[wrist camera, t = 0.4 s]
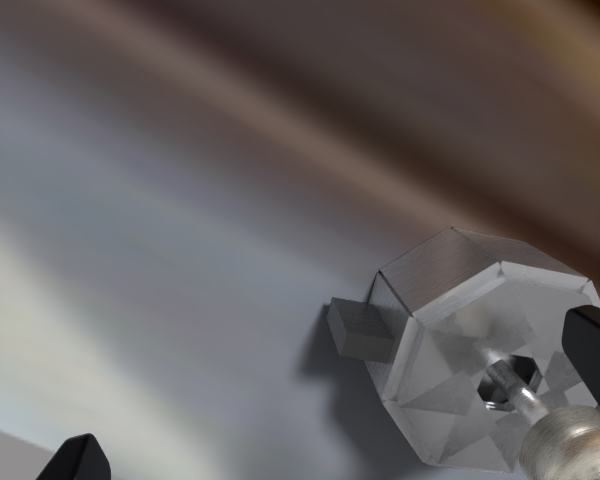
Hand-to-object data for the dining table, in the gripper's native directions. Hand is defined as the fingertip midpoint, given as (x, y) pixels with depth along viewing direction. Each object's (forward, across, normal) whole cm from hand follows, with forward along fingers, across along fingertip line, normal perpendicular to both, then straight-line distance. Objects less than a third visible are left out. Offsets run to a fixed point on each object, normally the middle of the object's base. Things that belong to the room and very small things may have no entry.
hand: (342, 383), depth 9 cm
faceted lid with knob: (+13, -8, +11) cm, 19 cm away
